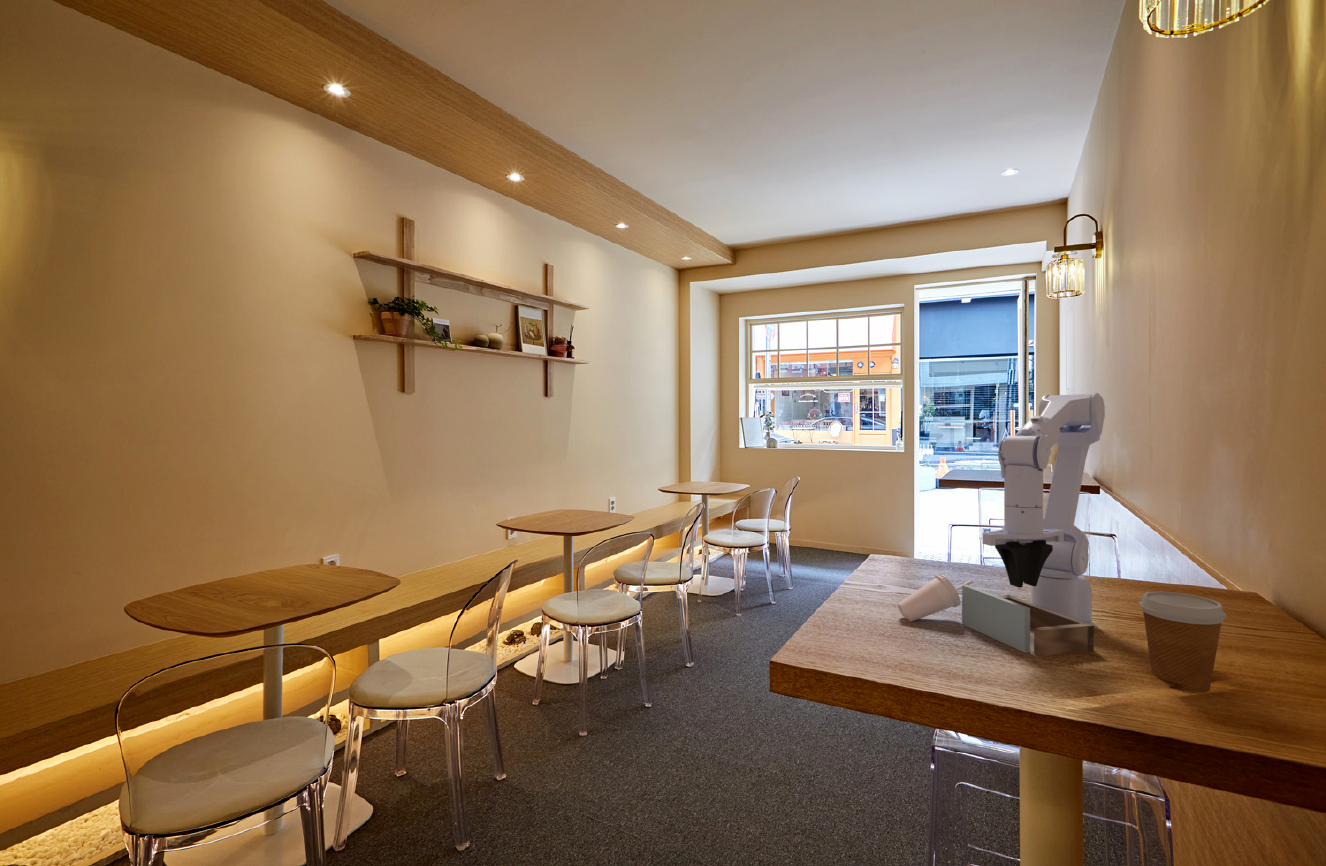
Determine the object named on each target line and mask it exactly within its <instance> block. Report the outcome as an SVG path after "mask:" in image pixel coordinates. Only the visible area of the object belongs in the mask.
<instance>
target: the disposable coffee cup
mask: <svg viewBox="0 0 1326 866" xmlns="http://www.w3.org/2000/svg"><path fill="white" fill-rule="evenodd" d="M1138 605H1139V607H1140V608H1141V610H1142V612H1143V613H1142V614H1143V621H1144V627H1145V634H1146V640H1147V641H1146V642H1147V647H1148V649H1147V650H1148V654H1149V661H1150V668H1151V673H1152V675H1154V676H1156V677H1157V678H1159V679H1162V680H1163V681H1166V682H1170V683H1173V684H1178V685H1172V686H1171V685H1170V686H1168V688H1169V689H1172V690H1177V691H1182V692H1186V693H1195V694H1197V693H1198V694H1199V693H1200V694H1203V693H1208V692H1209V691H1210V690H1211V685H1212V678H1213V673H1214V668H1215V662H1216V657H1217V651H1218V644H1219V642H1220V641H1219V639H1220V634H1221V629H1222V628H1221V627H1222V623H1224V621H1225V620H1224V619H1226V618H1227V614H1226V613H1225V612H1224V609H1223V605H1222V604H1221V602H1218V601H1217V600H1214V599H1211V598H1207V597H1204V596H1199V595H1194V594H1189V593H1182V592H1174V591H1147V592H1144V593H1143V594H1142V597H1141V600H1140V601H1138Z"/></svg>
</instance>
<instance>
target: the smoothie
mask: <svg viewBox="0 0 1326 866" xmlns="http://www.w3.org/2000/svg"><path fill="white" fill-rule="evenodd" d="M973 583H974V581H973V580H968V581H966V582H965V583H963V584H961V585H958V586H956V587H955V586H954V585H953V583H952V582H951V581H950V580H949V578H947V576H945V575H944V574H941V573H939V574H937V575H934V577H933V579H931V580H930V581H928V582H927V583H926V584H924V585H923V586H921V587H920V588H919V589H917V590H915V591H914V592H913V593H912V594H910V595H909V596H907V597H906V598H904V599H903V600H901V601H900V602H898V603H897V609H898V610H899V612H900V614H901V616H902V617H903V618H904V619H907V620H908V622H914V621H917V620H920V619H923V618H926V617H928V616H931V615H934V614H936V613H937V614H938V613H940V612H942V611H944V610H945V611H946V610H948V609H950V608H957V607H959V606H961V605H962V599H961V597H960V595H959V593H958V591H960V590H962V585H969V586H970V585H971V584H973Z"/></svg>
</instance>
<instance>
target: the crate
mask: <svg viewBox="0 0 1326 866" xmlns="http://www.w3.org/2000/svg"><path fill="white" fill-rule="evenodd" d="M998 596H999V597H1001V598H1004V599H1007V600H1010V601H1012V602H1015V603H1018V604H1020V605H1023V606H1026V607H1029V608H1030V652H1029V653H1032V654H1033V655H1036V656H1038V657H1048V656H1055V655H1056V656H1057V655H1066V654H1067V655H1068V654H1075V653H1076V654H1077V653H1085V652H1086V653H1087V652H1094V651H1095V648H1094V647H1095V644H1094V643H1095V642H1094V641H1095V625H1091V624H1088V623H1086V622H1083V621H1080V620H1077V619H1074V618H1072V617H1069V616H1066V615H1063V614H1060V613H1058V612H1055V611H1052V610H1049V609H1046V608H1044V607H1041V606H1038V605H1035V604H1032V603H1031V602H1029V601H1026V600H1023V599H1020V598H1018V597H1016V596H1012V595H1009V594H1008V595H1007V594H1006V595H998Z"/></svg>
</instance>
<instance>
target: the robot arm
mask: <svg viewBox="0 0 1326 866" xmlns="http://www.w3.org/2000/svg"><path fill="white" fill-rule="evenodd" d="M1104 401H1105V400H1104V398H1103V396H1102V395H1100V393H1099V392H1094V393H1085V394H1079V393H1078V394H1057V395H1056V394H1055V395H1054V394H1052V395H1051V394H1045V395H1043V397H1042V398H1040V401H1039V405H1038V415H1032V416H1031V417H1030V419H1028V421H1027V422H1025V424H1024V425H1023V426H1022V427H1021V428H1020V429H1019V430H1018V431H1017V432H1016V433H1015V434H1014V435H1007V436H1006V437H1003V438H1002V439H1001V441H1000V442H999V445H998V452H997V457H998V458H997V459H998V462H999V465H1000V475H1001V478H1002V479H1003V481H1004V483H1003V484H1004V487H1003V488H1004V493H1003V494H1004V498H1003V500H1004V501H1003V503H1004V504H1003V505H1004V506H1003V507H1004V509H1003V510H1004V513H1003V514H1004V515H1003V516H1004V517H1003V519H1004V520H1003V521H1004V523H1003V525H1004V527H1002V528H1001V529H1000V530H999V529H998V530H994V531H988V532H987V531H986V532H985V531H984V532H982V545H986V546H988V547H989V546H990V547H993V546H994V548H995V549H996V551H997V552H998V554H999V556H1000V559H1001V560H1002V562H1003V564H1004V567H1005V570H1006V574H1007V578H1008V581H1009V584H1010V586H1013V587H1015V588H1016V587H1017V588H1023V586H1024V584H1025V585H1028V586H1030V589H1031V590H1030V595H1031V596H1030V601H1031V602H1030V603H1032V604H1035V605H1038V606H1041V607H1044V608H1046V609H1049V610H1052V611H1055V612H1058V613H1060V614H1063V615H1066V616H1069V617H1072V618H1074V619H1077V620H1080V621H1083V622H1086V623H1088V624H1091V625H1094V626H1096V625H1097V623H1096V621H1093V589H1092V585H1091V583H1090V581H1089V580H1088V579H1087V578H1086V577H1085V576H1084V574H1085V573H1086V572H1087V569H1088V565H1089V559H1090V557H1089V546H1090V541H1089V539H1088V537H1087V535H1086V533H1084V531H1083V530H1081V529H1080V528H1078V526H1076V525H1075V520H1076V515H1077V508H1078V505H1079V498H1080V494H1081V488H1082V482H1083V476H1084V472H1085V465H1086V461H1087V455H1088V453H1089V450H1090V446H1091V445H1092V444H1094V443H1096V442H1098V441H1101V435H1102V432H1103V428H1104V421H1105V417H1106V415H1105V414H1106V413H1105V412H1106V411H1105V410H1106V408H1105V402H1104ZM1055 445H1057V453H1056V458H1055V463H1054V468H1053V473H1052V477H1051V484H1050V488H1049V492H1048V499H1047V503H1046V508H1045V513H1044V470H1046V469H1047V467H1048V465H1049V460H1050V457H1051V456H1052V455H1051V454H1052V448H1053V447H1054V446H1055Z"/></svg>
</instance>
